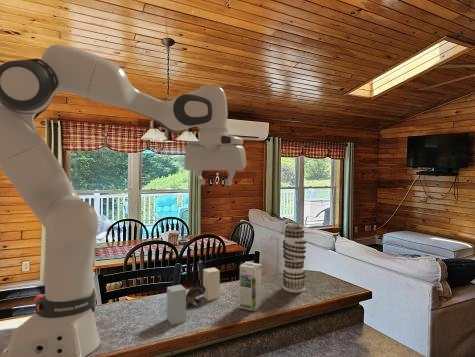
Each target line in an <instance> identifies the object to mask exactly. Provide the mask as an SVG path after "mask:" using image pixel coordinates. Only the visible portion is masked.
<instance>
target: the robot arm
mask: <svg viewBox="0 0 475 357" xmlns="http://www.w3.org/2000/svg"><path fill="white" fill-rule="evenodd" d="M58 93H66V94H67V93H68V94H72V95H73V94H74V95H76V96H78V97H81V98H85V99H87V100H90V101H93V102H97V103H100V104H105V105H108V106H109V105H110V106H113V107H118V108H122V109H124V110H125V109H126V110H129V111H131V112H133V113H135V114H138V115H141V116H143V117H147V118H148V119H150V120H151V119H152V120H153V121H155V122H157V123H158V124H159V125H160V126H162V128H164V129H165V130H166V131H169V132H170V133H176V134H177V133H182V132H184V131H185V130H188V129H191V128H194V127H197V128H198V134H199V135H198V138H199V139H198V140H196V141H193V140H192V141H191V140H190V141H189V142H188V143H186V145H185V154H184V155H185V156H184V169H185V170H186V171H194V175H195V176H196V178H197V182H198V185H199V186H205V185H206V178H203V176H202V174H203V171H227V174H229V175H228V177H227V179H224V182H225V183H224V185H225V186H232V184H233V178H234V176H235V175H236V171H239V170H241V171H242V170H245V169H246V167H247V156H246V149H245V147H244V146H243V144H244V139H243V138H242V137H239V136H236V135H233V134H229V128H228V125H227V124H228V123H227V120H228V116H229V115H228V114H229V112H228V102H227V96H226V93H225V90H224V89H222V88H221V87H220V86H217V85H214V84H204V85H201V86H200V87H199V88H197V89H195V90H193V91H192V92H188V93H183V94H180V95H178V96H176V97H175V98H173V99H171V100H161V99H159V98H156V97H155V96H152V95H149V94H148V93H145V92H142V91H141V90H139V89H137V88H136V87H134V86H133V84H132V83H131V81H130V80H129V77H128V75H127V73H126V72H125V70H124V68H122V67H120V66H119V65H117V64H116V63H114V62H112V61H110V60H108V59H106V58H103V57H101V56H99V55H97V54H94V53H91V52H88V51H85V50H81V49H78V48H75V47H72V46H67V45H62V44H52V45H50V46H49V47H47V48H46V49H45V51H44V52H43V53H42V55H41V58H39V57H38V58H28V59H16V60H9V61H6V62H3V63H2V64H0V169H1V171H2V173H3V174H4V175H5V177H6V178H7V179H8V181H9V182H10V183H11V185H12V186H13V187H14V188H15V191H17V193H18V194H19V196H20V197H21V198H22V199H23V201H24V202H25V203H26V205H27V206H28V207H29V209H30V210H31V211H32V213H33V214H34V216H36V218H37V219H38V221H39V222H40V223H41V225H42V226H43V227H44V229H45V230H46V231H45V232H46V245H45V246H46V251H45V262H44V293H45V294H44V295H42V294H37V295H36V296H35V297H34V300H33V303H34V304H35V313H34V314H33V315H31V317H29V318H28V319H26V321H24V322H23V323H22V324H21V325H19V326H18V327H17V328H16V329H15V330H14V332H13V333H12V336H11V338H10V340H9V344H8V346H7V347H6V348H4V350H3V351H2V352H1V353H0V357H86V356H87V355H89V354H91V353H92V352H94V351H95V350H97V348H98V347H99V346H100V344H101V338H100V335H99V331H98V329H97V328H98V327H97V322H96V317H95V315H96V314H95V311H96V305H97V304H96V301H97V300H96V298H97V296H96V291H95V288H94V256H95V250H96V243H97V242H96V241H97V233H98V228H99V217H98V214H97V212H96V210H95V208H94V207H93V206H92V205H91V204H90V203H88V202H87V201H84V200H82V199H81V197H80V196H79V194H78V192H77V191H76V190H75V188H74V185H73V184H72V183H71V181H70V179H69V177H68V175H67V173H66V171H65V169H64V168H63V167H62V164H60V161H59V160H58V159H57V157H56V155H55V154H54V153H53V151H52V150H51V149H50V147H49V146H48V144H47V142H46V141H45V140H44V138H43V136H41V134H40V133H39V131H38V128H37V127H36V125H35V121H34V120H36V119H37V118H38V117H39V116H40V115H41V114H43V113H44V112H45V111H46V110H47V109H48V107H49V106H50V105H51V103H52V100H53V97H54V95H56V94H58Z"/></svg>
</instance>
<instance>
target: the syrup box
mask: <svg viewBox="0 0 475 357" xmlns="http://www.w3.org/2000/svg"><path fill="white" fill-rule="evenodd" d="M261 306H262V263H256V262H255V263H254V262H249V261H246V262H244V263H242V264H240V265H239V309H241V310H243V309H244V310H246V311H252V312H255V311H257V310H258V309H259V307H261Z"/></svg>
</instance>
